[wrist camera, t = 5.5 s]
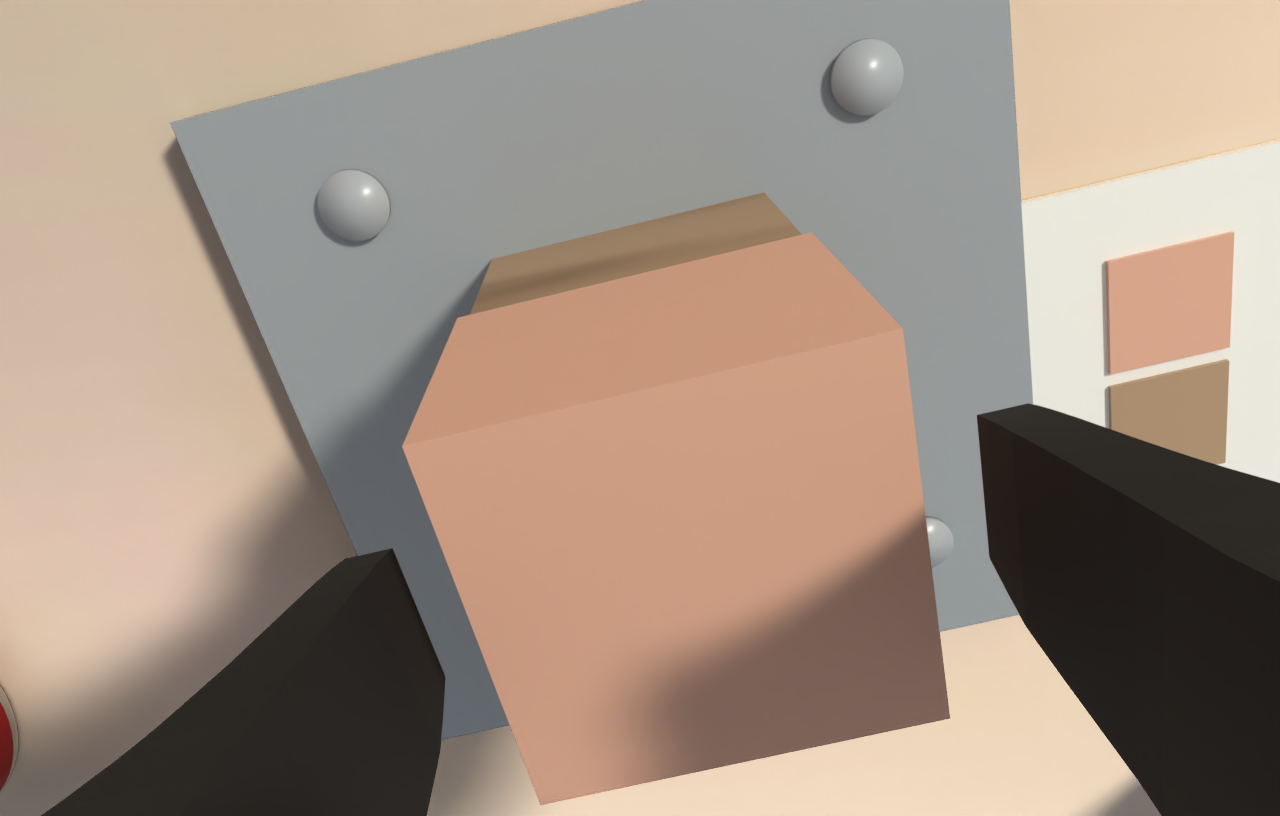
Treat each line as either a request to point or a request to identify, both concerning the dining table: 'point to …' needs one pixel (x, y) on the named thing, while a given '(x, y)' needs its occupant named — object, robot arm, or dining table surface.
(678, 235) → the walnut block
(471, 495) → the terracotta block
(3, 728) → the soda can
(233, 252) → the build plate
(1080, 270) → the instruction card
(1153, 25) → the dining table surface
